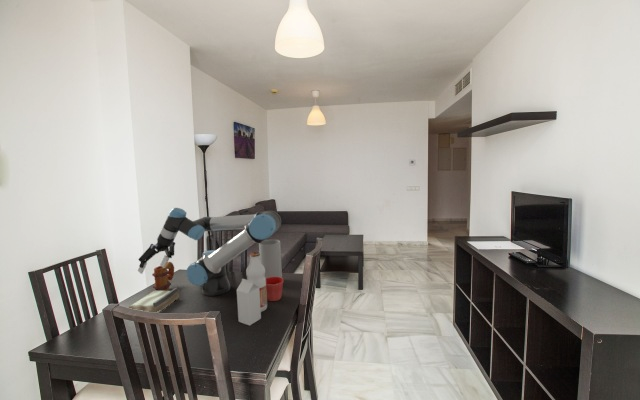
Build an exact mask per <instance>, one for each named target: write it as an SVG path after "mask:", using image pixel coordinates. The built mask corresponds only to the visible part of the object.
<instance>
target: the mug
mask: <svg viewBox="0 0 640 400" xmlns="http://www.w3.org/2000/svg"><path fill="white" fill-rule="evenodd" d="M153 271H154V272H153V273H152V274H151V275H152V277H154V285H153V286H152V288H153V289H154V291H170V286H171V285H172V283H171V281H172V280H173V277H174V275H175V266H174V263H173V262H171V261H168V262H167V263H166V265H165V268H163V267H162V266H160V265H159V266H157V267H156V266H155V268H154V269H153Z"/></svg>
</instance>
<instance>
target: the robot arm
mask: <svg viewBox="0 0 640 400" xmlns="http://www.w3.org/2000/svg"><path fill="white" fill-rule="evenodd" d="M281 226H282V219H281V216H280V215H279V214H278V212H276V211H274V210H265V211H258V212H256V213H254V214H241V215H226V216H224V215H222V216H212V217H211V216H204V217H201V218H198V219H196V220H191V219H189V218H188V217H187V211H185V210H184V208H180V207H173V208H171V210H170V211H169V213H168V214H167V217H166V220H165V222H164V224H163V226H162V228H161V230H160V233H159V234H158V236H157V238H156V241H157V242H156V243H155V244H153V243H151V244H150V246H149V247H148V248H147V249H146V250H145V251H144V252H143V253H142V254H141V256H140V257H139V258H137V259H138V262H140V263H139V266H138V269H137V271H138V273H140V274H141V275H143V273H144V271H145V270H146V269H145V268H146V266H147V265H148V262H149V260H151V259H152V258H153V257H154V256H155V255H157V254H159V253H161V252H165V255H164V256H163V258H162V261H161V262H160V264H159V266H162V267H163V268H165V265H166V263H167V262H169V260H170V259H172V258H173V257H174V256H175V245H176V242H174V241H175V239H176V237H177V234H178V233H179V232H181V234H184V235H185V236H186V237H188V238H190V239H193V240H194V241H199V240H200V239H201V238H202V237H203V236H204V234H205V232H212V231H213V232H215V231H229V230H242V231H241V232H239V233H238V234H236V235H235V236H233V237H232V238H231V239H229V240H228V241H227V242H225V243H224V244H222V245H221V246H220V247H219V248H217V249H214V250H213V249H212V250H205V251H203V252H202V256H201V257H199V258H198V259H197V260H195V261H194V262H192V263H190V264H189V265H188V267H187V268H186V270H185V271H186V272H185V275H186V279H187V280H188V281H189V282H190V283H191V284H192V285H194V286H201V287H202V288H201V293H202V294H203V295H205V296H209V297H211V296H213V297H214V296H219V295H224V294H226V293H228V292H229V291H230V290H231V284H230V281H229V279H228V276H227V269H226V266H227V264H228V263H229V262H231V261H232V260H233V259H235V258H236V257H238V256H239V255H240V254H241V253H243V252H244V251H246V250H247V249H249V248H250V247H251V246H253V245H255V244H259V243H261V242H262V241H264V240H267V239H269V238H270V237H272V236H273V234H274V233H276V232H277V231H279V229H280V227H281Z"/></svg>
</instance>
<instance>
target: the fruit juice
mask: <svg viewBox="0 0 640 400" xmlns="http://www.w3.org/2000/svg"><path fill="white" fill-rule="evenodd" d="M245 274H246V280H250V281H253V282H254V284H255V285H256V286H258V287H259V291H260V309H261V313H262V312H264V311H265V310H267V308H268V300H267V291H266V278H265V276H264V275H265V267H264V266H263V265H262V264H261V261H260V253H259V251H251V252H250V253H249V263H248V266H247V267H246V270H245Z"/></svg>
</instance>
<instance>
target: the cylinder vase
mask: <svg viewBox="0 0 640 400" xmlns="http://www.w3.org/2000/svg"><path fill="white" fill-rule="evenodd" d="M281 246H282V245H281V240H279V239H265V240H264V241H262V242H261V243H258V249H259V250H258V252H259V253H260V257H259V258H260V261H261V264H262V265H263V266H264V267H265V275H264V276H265V278H269V277H281V278H283V272H282V271H283V270H282V251H281V250H282V249H281Z"/></svg>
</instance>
